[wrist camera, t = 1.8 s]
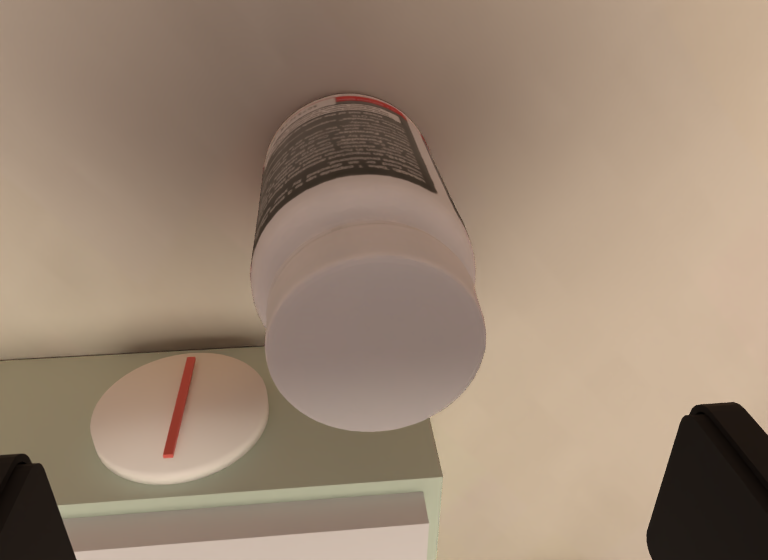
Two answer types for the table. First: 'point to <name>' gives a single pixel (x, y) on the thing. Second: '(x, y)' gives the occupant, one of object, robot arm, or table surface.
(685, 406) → the table surface
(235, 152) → the table surface
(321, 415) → the pill bottle
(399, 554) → the scale
